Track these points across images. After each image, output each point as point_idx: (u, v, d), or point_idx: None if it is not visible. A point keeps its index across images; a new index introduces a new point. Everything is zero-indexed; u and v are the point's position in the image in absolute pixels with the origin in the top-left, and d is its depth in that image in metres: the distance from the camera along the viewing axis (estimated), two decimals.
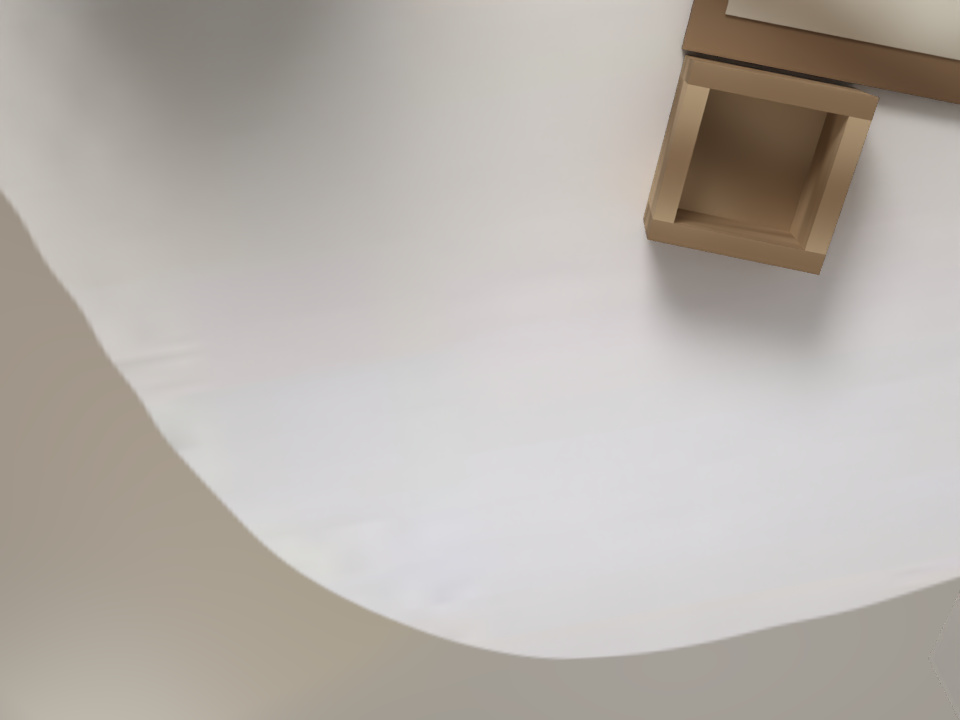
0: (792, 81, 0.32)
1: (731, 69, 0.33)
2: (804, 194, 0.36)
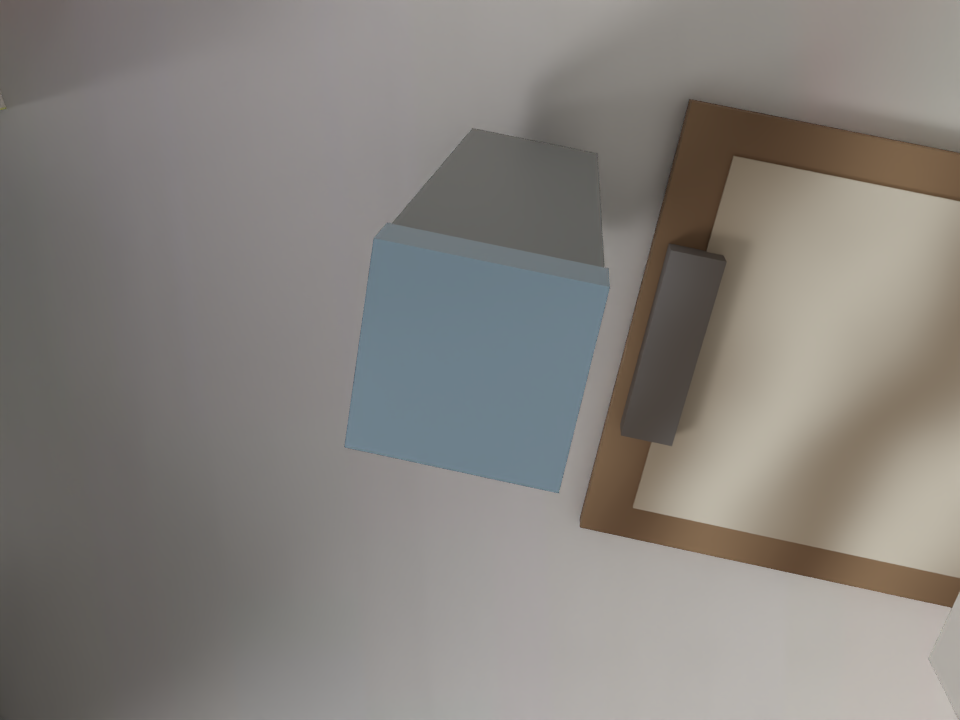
0: None
1: None
2: None
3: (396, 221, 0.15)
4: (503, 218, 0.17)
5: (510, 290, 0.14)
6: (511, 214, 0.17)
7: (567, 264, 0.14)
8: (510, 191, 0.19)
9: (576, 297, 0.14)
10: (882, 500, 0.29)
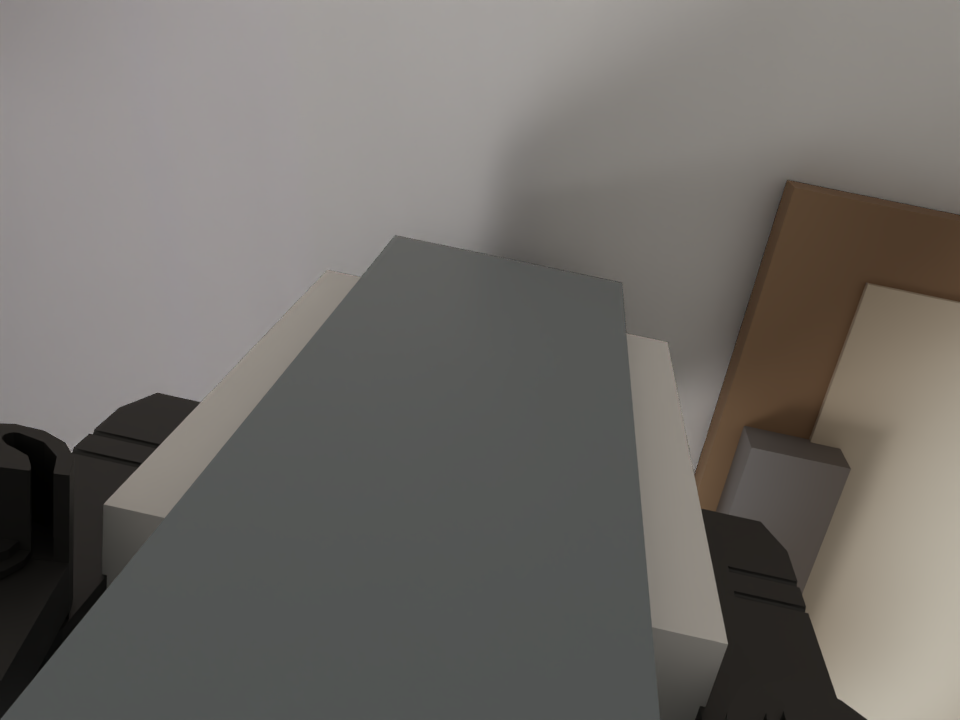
0: None
1: None
2: None
3: None
4: (348, 710, 0.05)
5: None
6: (384, 662, 0.06)
7: None
8: (415, 492, 0.07)
9: None
10: None
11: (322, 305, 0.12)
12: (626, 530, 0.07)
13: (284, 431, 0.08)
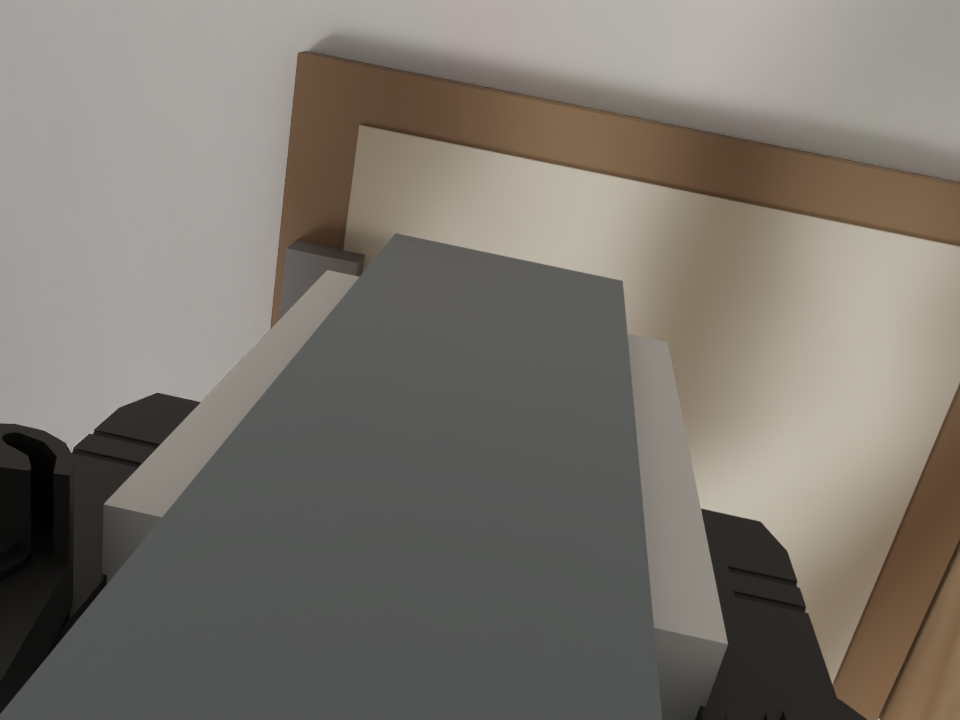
0: None
1: None
2: None
3: None
4: (348, 707, 0.05)
5: None
6: (384, 659, 0.06)
7: None
8: (415, 489, 0.07)
9: None
10: None
11: (323, 305, 0.12)
12: (627, 527, 0.07)
13: (284, 428, 0.08)
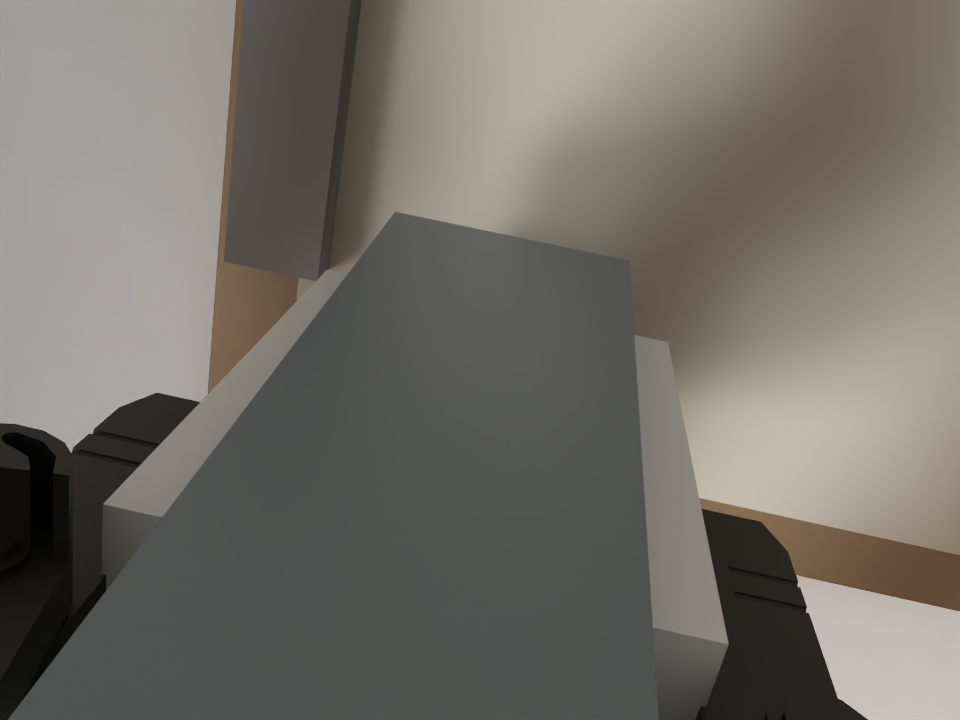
0: None
1: None
2: None
3: None
4: None
5: None
6: (372, 700, 0.05)
7: None
8: (409, 503, 0.07)
9: None
10: (718, 390, 0.16)
11: (323, 305, 0.12)
12: (629, 542, 0.07)
13: (274, 436, 0.08)
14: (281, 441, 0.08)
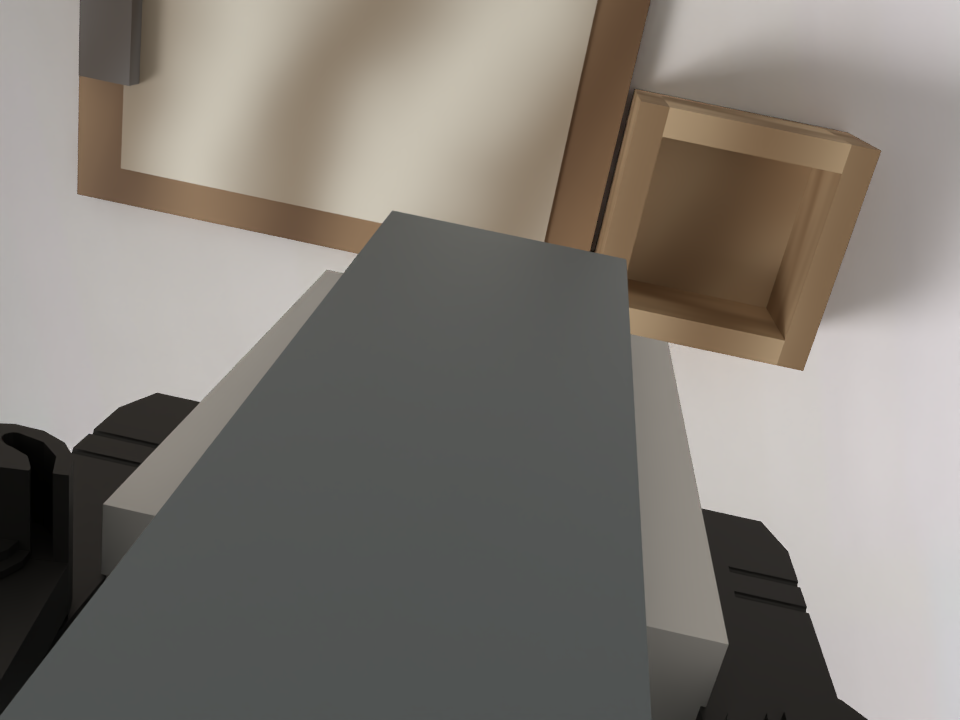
0: (614, 210, 0.26)
1: None
2: None
3: None
4: None
5: None
6: (364, 697, 0.05)
7: None
8: (403, 501, 0.07)
9: None
10: (354, 151, 0.29)
11: None
12: (623, 539, 0.07)
13: (268, 434, 0.08)
14: (276, 439, 0.08)
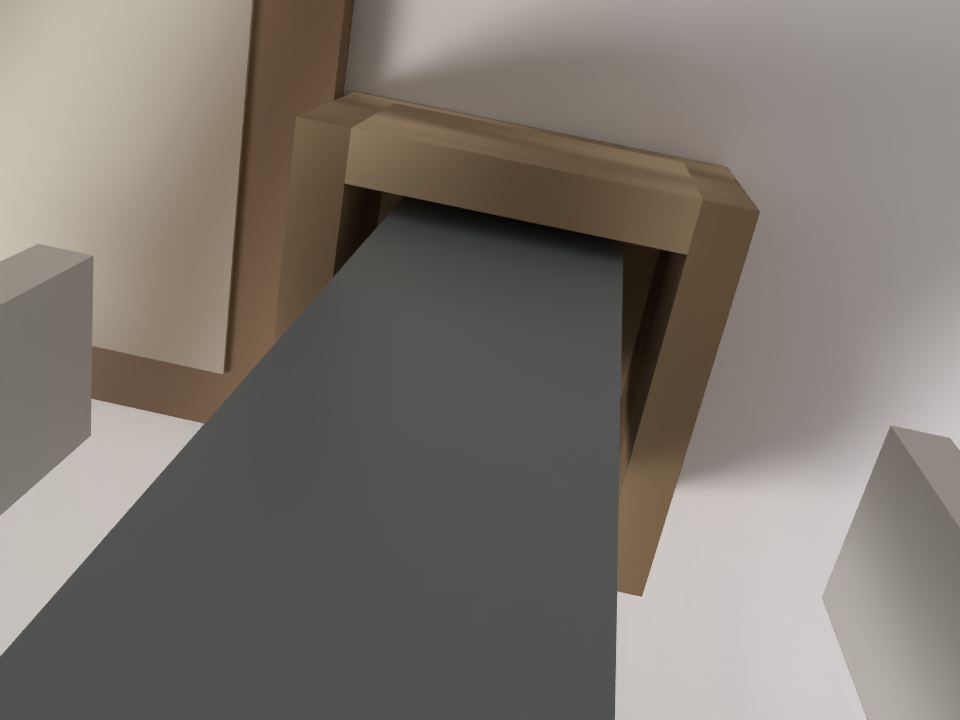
0: (278, 317, 0.14)
1: None
2: None
3: None
4: (340, 605, 0.06)
5: None
6: (374, 568, 0.06)
7: None
8: (410, 427, 0.08)
9: None
10: None
11: None
12: (603, 461, 0.08)
13: (293, 373, 0.09)
14: (299, 377, 0.09)
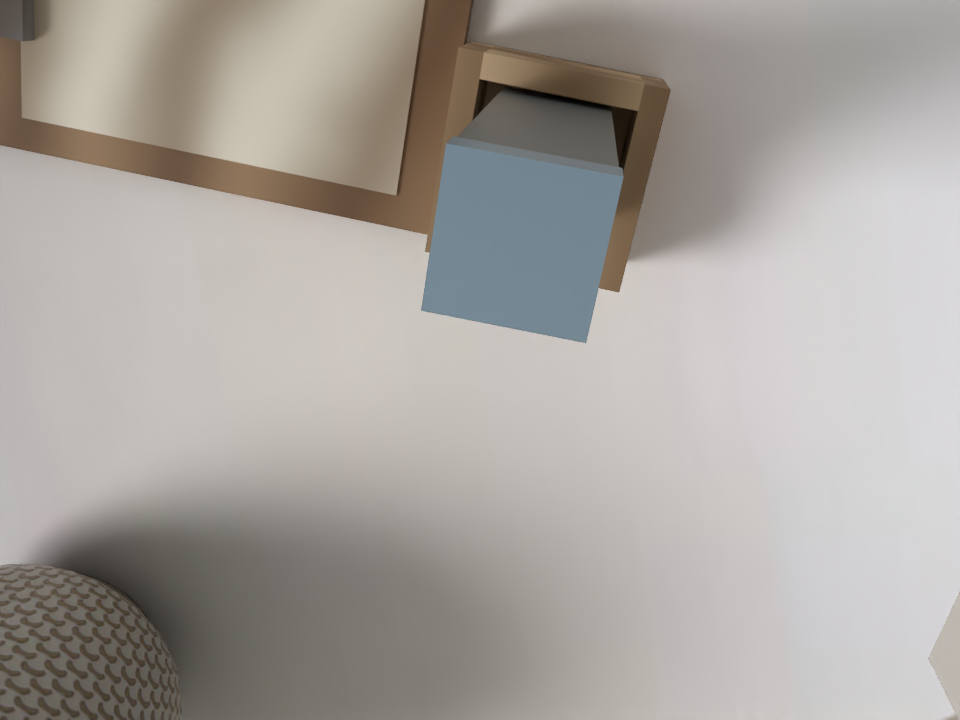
0: (443, 146, 0.29)
1: (432, 212, 0.30)
2: None
3: (459, 136, 0.20)
4: (539, 139, 0.21)
5: (548, 181, 0.18)
6: (545, 137, 0.22)
7: (590, 164, 0.19)
8: (542, 125, 0.23)
9: (598, 185, 0.18)
10: (226, 100, 0.33)
11: None
12: (609, 136, 0.23)
13: (496, 113, 0.24)
14: (498, 114, 0.24)
